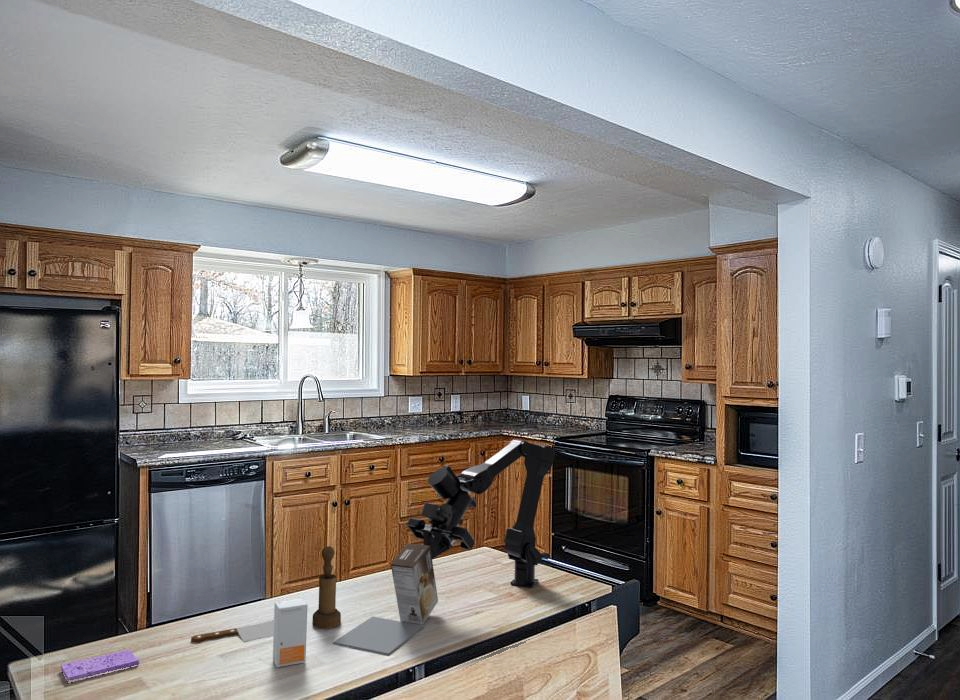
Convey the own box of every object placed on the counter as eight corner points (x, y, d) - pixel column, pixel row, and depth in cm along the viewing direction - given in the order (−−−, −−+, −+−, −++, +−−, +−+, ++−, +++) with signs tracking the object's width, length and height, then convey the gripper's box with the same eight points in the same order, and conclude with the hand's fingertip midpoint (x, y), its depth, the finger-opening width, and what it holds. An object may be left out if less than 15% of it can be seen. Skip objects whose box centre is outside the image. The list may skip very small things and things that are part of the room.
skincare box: (276, 668, 136) (277, 608, 136) (272, 660, 140) (273, 601, 140) (306, 662, 139) (308, 604, 139) (302, 654, 143) (303, 597, 143)
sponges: (60, 673, 133) (60, 664, 134) (130, 656, 142) (130, 647, 142) (67, 687, 128) (67, 677, 128) (139, 668, 136) (139, 659, 136)
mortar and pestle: (346, 621, 161) (347, 545, 162) (329, 631, 155) (331, 552, 156) (323, 616, 164) (325, 542, 164) (306, 625, 158) (308, 548, 159)
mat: (372, 618, 164) (372, 616, 164) (424, 627, 158) (424, 625, 158) (332, 643, 148) (333, 641, 148) (388, 655, 143) (388, 653, 143)
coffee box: (415, 597, 170) (407, 541, 166) (439, 601, 168) (431, 544, 163) (399, 621, 162) (389, 563, 157) (423, 625, 159) (414, 566, 155)
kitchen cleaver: (196, 651, 142) (189, 632, 151) (196, 656, 143) (189, 636, 151) (310, 630, 155) (297, 613, 164) (310, 634, 155) (297, 617, 164)
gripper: (412, 486, 176) (380, 535, 167) (469, 495, 165) (437, 549, 156) (431, 512, 182) (401, 562, 173) (487, 523, 171) (457, 576, 162)
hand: (423, 561), depth 166 cm, fingers closed
